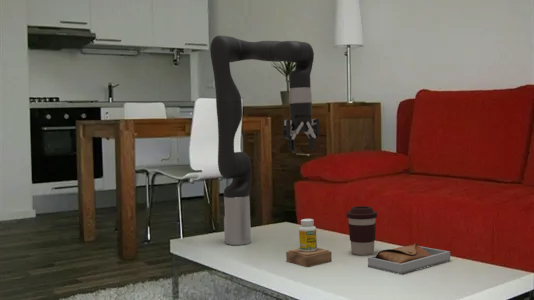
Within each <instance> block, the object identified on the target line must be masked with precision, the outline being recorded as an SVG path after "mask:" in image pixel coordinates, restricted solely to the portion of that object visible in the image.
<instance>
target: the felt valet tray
mask: <svg viewBox="0 0 534 300" xmlns="http://www.w3.org/2000/svg"><path fill="white" fill-rule="evenodd" d="M419 246H420V245H419ZM420 247H421V248H423V249H424V250H425V251H427V252H428V253H430V254H431V255H432V256H428V257H424V258H420V259H417V260H413V261H409V262H405V263H402V264H400V263H395V262H390V261H386V260H381V259H376V255H372V256H368V257H367V267H368V268H371V269H376V270H381V271H384V270H385V272H388V271H390V272H389V273H393V272H394V273H393V274H397V273H399V274H398V275H401V274H402V275H404V274H403V273H405V274H407V273H406V272H409V271H412V272H414V271H413V270H416V269H419V270H421V269H420V268H423V269H425V268H424V267H426V268H428V267H427V266H430V267H432V266H431V265H434V266H436V265H435V264H437V265H439V263H441V264H444V263H447V261H448V262H450V261H451V251H449V250H444V249H439V248H438V249H437V248H430V247H427V246H426V247H425V246H420ZM443 262H444V263H443ZM416 271H417V270H416ZM409 273H410V272H409Z"/></svg>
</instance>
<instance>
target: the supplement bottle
mask: <svg viewBox="0 0 534 300" xmlns="http://www.w3.org/2000/svg"><path fill="white" fill-rule="evenodd" d="M314 221H315V220H314V219H313V218H304V219H301V220H300V225H301V226H299V227H298V234H299V248H300V250H301V251H303V252H313V251H316V250H317V248H318V247H317V246H318V245H317V243H318V242H317V227H316V226H315V225H314V224H315V222H314Z"/></svg>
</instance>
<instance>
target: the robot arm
mask: <svg viewBox="0 0 534 300" xmlns="http://www.w3.org/2000/svg"><path fill="white" fill-rule="evenodd" d="M209 50H210V51H209V52H210V53H209V54H210V58H211V59H210V60H211V65H212V71H213V78H214V87H215V88H214V89H215V102H216V103H215V105H216V106H215V107H216V117H217V133H218V134H217V135H218V137H217V138H218V144H217V145H218V146H217V166H218V167H217V168H218V172H219V175H221V177H222V178H224V179H232V181H231V183H230V184H229V185H228V186H227V187H225V188H224V190H223V201H224V203H223V204H224V216H223V229H224V230H223V231H224V233H223V234H224V243H225V244H226V245H230V246H242V245H249V244H251V243H252V234H251V233H252V229H251V228H252V227H251V226H252V225H251V203H250V190H251V189H252V188H251V187H252V163H251V162H252V161H251V159H250V156H249V155H248V153H246V152H245V151H235V138H236V137H235V136H236V133H237V131H238V129H239V126H240V124H241V121H242V119H243V103H242V97H241V94H240V91H239V88H238V87H237V85H236V83H235V80H234V79H233V77H232V72H231V66H230V65H231V64H230V63H235V62H239V61H249V60H253V61H254V60H255V61H262V62H277V63H278V62H280V63H281V62H285V63H286V62H287V63H295V67H294V70H292V71H290V72H289V75H288V77H289V78H288V79H289V81H288V82H289V94H288V102H289V103H288V104H289V105H288V106H289V116H290V119H284V120H282V138H283V139H287V141H288V142H287V145H288V146H287V147H288V150H289V152H295V151H296V140H295V139H296V136H297V135H298V134H299V133H304V134H306V136H307V137H308V150H309V151H311V150H312V151H314V150H315V148H316V138H317V137H320V135H321V133H320V120H319V118H312V116H313V98H312V97H313V96H312V89H311V86H312V85H311V72H312V70H313V65H314V64H313V63H314V56H315V54H314V53H315V52H314V49H313V47H312V45H311V44H310V43H309V42H307V41H306V42H305V41H300V40H284V41H283V40H282V41H280V40H260V41H247V40H243V39H239V38H237V37H233V36H229V35H228V36H226V35H216V36H215V37H214V38H213V39H212V40H211V42H210V49H209Z"/></svg>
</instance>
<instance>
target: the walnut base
mask: <svg viewBox="0 0 534 300" xmlns="http://www.w3.org/2000/svg"><path fill="white" fill-rule="evenodd" d="M285 254H286V255H285V257H286V260H285V261H286V262H287V263H291V264H294V265H298V266H301V267H307V268H310V267H313V266H317V265H321V264H322V265H323V264H327V263H330V262H333V261H332V259H333V258H332V257H333V256H332V251H329V249H324V248H321V247H317V250H316V251H313V252H303V251H301V250H300V247H299V248H293V249H290V250H288V251H285Z"/></svg>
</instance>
